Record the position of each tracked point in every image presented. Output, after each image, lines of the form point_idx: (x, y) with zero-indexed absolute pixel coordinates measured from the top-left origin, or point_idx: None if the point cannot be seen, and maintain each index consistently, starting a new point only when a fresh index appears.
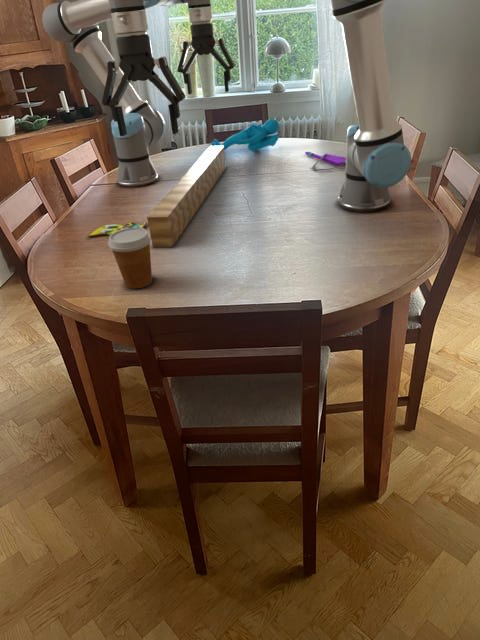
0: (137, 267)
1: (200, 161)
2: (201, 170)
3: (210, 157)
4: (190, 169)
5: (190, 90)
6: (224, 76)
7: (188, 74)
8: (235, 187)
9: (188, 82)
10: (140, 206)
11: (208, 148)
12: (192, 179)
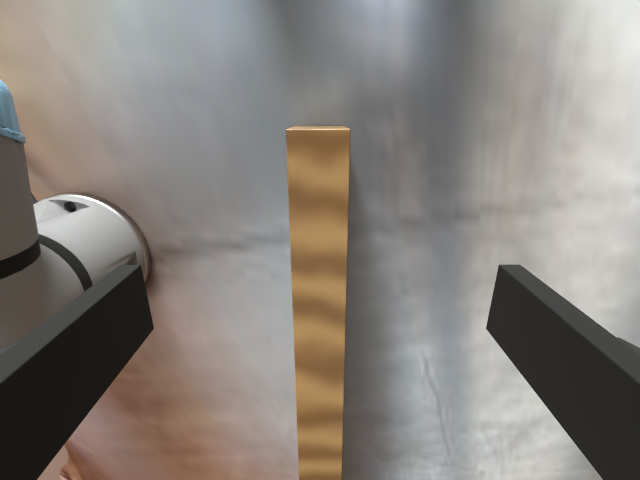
0: None
1: (307, 339)
2: (335, 417)
3: (331, 299)
4: (299, 407)
5: (134, 325)
6: (585, 447)
7: (7, 477)
8: (401, 319)
9: (87, 409)
10: (203, 418)
11: (289, 169)
12: (330, 474)
